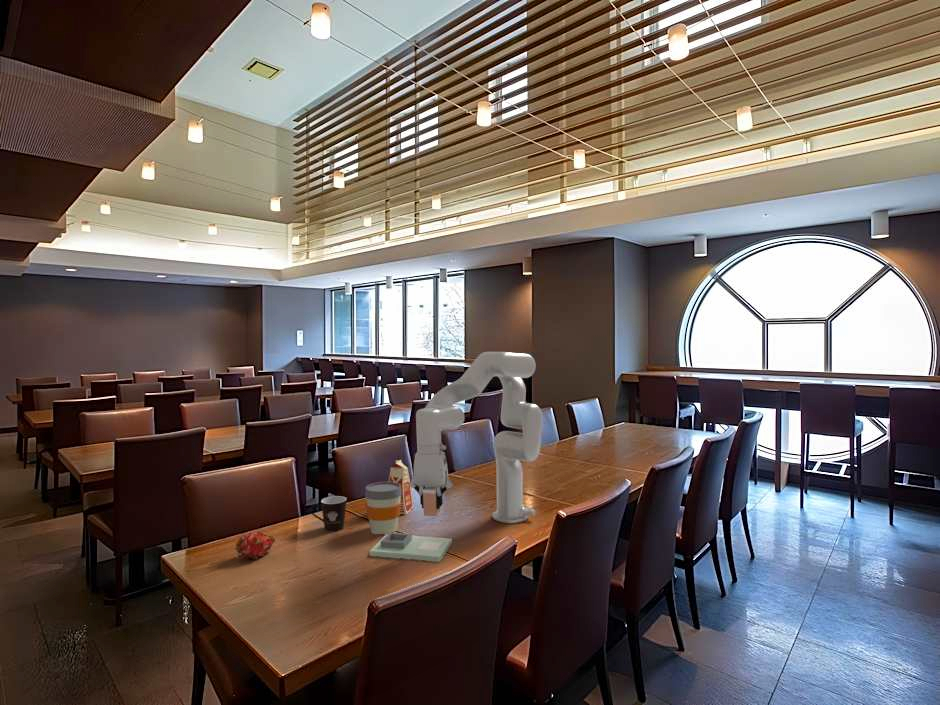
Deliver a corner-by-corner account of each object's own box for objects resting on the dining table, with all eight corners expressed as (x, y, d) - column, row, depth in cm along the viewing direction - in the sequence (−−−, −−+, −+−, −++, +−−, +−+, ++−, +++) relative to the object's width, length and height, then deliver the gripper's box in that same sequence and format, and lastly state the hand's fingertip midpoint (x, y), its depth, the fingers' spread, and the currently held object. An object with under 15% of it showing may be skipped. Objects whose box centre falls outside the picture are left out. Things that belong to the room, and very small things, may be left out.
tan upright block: (439, 511, 158) (438, 486, 157) (436, 516, 154) (435, 490, 153) (427, 510, 159) (426, 485, 158) (423, 515, 155) (422, 489, 154)
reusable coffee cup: (371, 539, 166) (370, 493, 165) (361, 527, 177) (360, 484, 176) (407, 532, 171) (406, 488, 171) (395, 520, 182) (394, 479, 182)
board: (451, 543, 162) (451, 533, 162) (439, 562, 148) (439, 550, 148) (387, 538, 166) (387, 528, 166) (369, 555, 153) (369, 545, 153)
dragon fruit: (231, 567, 149) (271, 561, 157) (241, 557, 144) (282, 551, 153) (228, 539, 153) (268, 534, 161) (239, 528, 149) (278, 524, 157)
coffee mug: (351, 525, 178) (351, 497, 178) (337, 534, 170) (337, 504, 170) (323, 521, 182) (323, 494, 182) (308, 530, 174) (308, 501, 174)
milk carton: (406, 515, 189) (405, 461, 188) (383, 513, 190) (382, 461, 190) (414, 507, 198) (413, 456, 197) (391, 505, 199) (391, 455, 199)
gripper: (458, 446, 157) (460, 504, 158) (407, 445, 161) (410, 502, 162) (452, 452, 150) (454, 512, 151) (399, 451, 153) (401, 510, 154)
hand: (431, 506), depth 156 cm, fingers closed on tan upright block, 4 cm apart
